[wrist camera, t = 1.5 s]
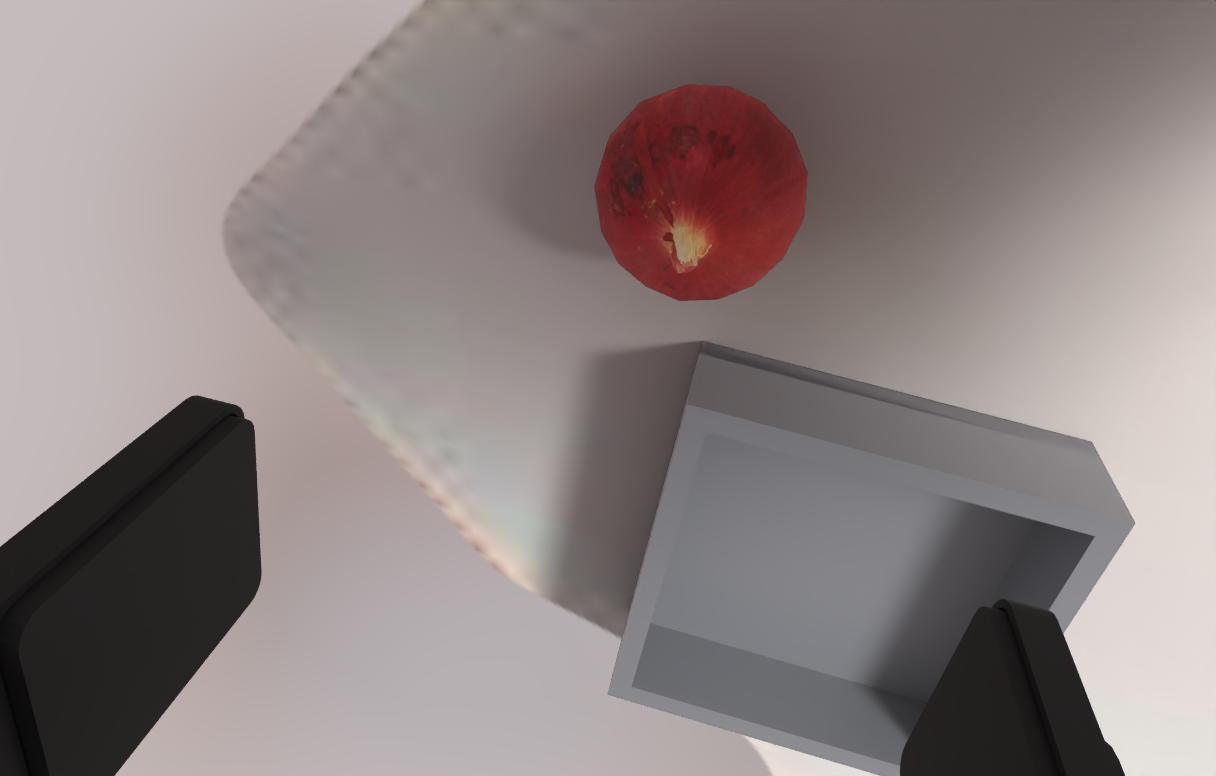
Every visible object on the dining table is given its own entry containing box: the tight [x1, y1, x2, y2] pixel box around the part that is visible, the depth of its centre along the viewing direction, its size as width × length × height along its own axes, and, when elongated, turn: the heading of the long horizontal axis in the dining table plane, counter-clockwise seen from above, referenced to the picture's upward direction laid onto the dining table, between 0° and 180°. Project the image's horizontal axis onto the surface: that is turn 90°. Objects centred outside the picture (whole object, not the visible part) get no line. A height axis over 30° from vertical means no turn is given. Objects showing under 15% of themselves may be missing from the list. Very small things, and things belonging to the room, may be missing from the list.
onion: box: [595, 84, 807, 301], centre depth 24 cm, size 6×6×8 cm
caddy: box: [608, 341, 1135, 776], centre depth 31 cm, size 14×14×4 cm
